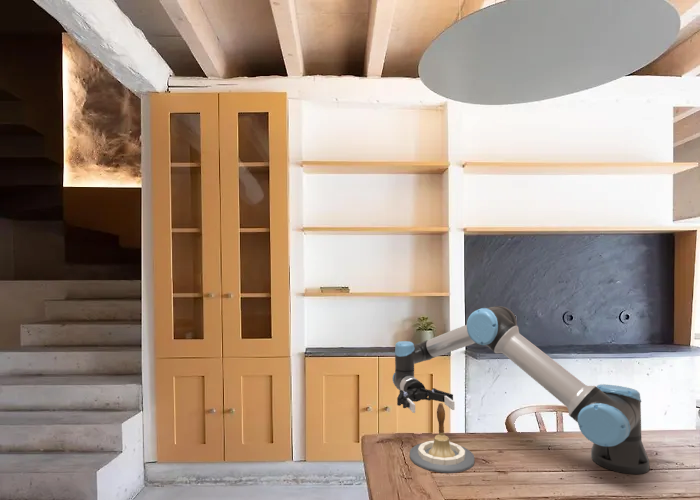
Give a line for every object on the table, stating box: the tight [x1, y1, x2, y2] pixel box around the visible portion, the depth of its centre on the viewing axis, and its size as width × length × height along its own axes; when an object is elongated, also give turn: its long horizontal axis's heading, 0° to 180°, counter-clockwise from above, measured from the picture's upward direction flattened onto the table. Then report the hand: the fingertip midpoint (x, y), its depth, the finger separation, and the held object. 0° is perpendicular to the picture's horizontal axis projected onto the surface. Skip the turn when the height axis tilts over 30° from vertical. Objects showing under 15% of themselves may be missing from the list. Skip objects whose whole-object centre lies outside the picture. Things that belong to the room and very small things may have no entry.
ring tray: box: [409, 440, 475, 474], centre depth 137 cm, size 20×20×2 cm
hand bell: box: [428, 402, 455, 458], centre depth 137 cm, size 8×8×16 cm
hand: (434, 407), depth 142 cm, fingers open, 13 cm apart
